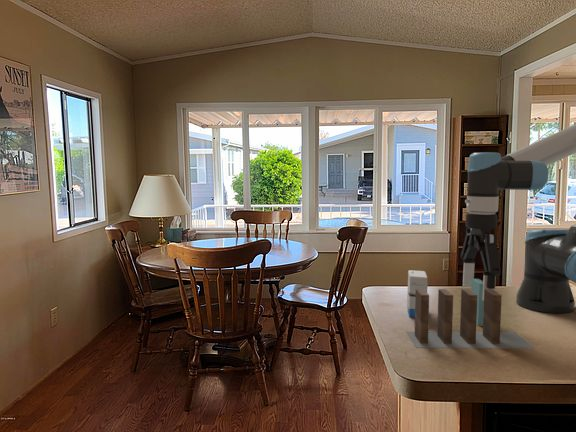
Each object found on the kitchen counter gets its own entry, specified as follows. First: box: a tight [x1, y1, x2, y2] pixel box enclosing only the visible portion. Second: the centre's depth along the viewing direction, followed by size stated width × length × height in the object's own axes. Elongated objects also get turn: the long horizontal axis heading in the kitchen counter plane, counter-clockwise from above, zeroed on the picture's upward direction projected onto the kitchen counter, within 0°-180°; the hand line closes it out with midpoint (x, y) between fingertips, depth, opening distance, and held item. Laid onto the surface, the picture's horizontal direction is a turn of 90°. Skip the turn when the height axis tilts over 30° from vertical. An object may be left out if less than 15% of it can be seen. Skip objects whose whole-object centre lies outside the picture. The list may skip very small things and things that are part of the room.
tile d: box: [436, 288, 454, 344], centre depth 105 cm, size 2×5×12 cm, turn 178°
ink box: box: [406, 269, 428, 318], centre depth 125 cm, size 8×5×12 cm, turn 168°
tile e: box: [414, 289, 430, 344], centre depth 106 cm, size 2×5×12 cm, turn 178°
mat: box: [405, 331, 536, 349], centre depth 106 cm, size 27×10×1 cm, turn 88°
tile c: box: [459, 288, 477, 344], centre depth 105 cm, size 2×5×12 cm, turn 178°
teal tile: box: [470, 278, 484, 327], centre depth 117 cm, size 2×5×12 cm, turn 178°
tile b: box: [482, 289, 503, 344], centre depth 105 cm, size 2×5×12 cm, turn 178°
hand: (477, 293), depth 117 cm, fingers open, 13 cm apart
